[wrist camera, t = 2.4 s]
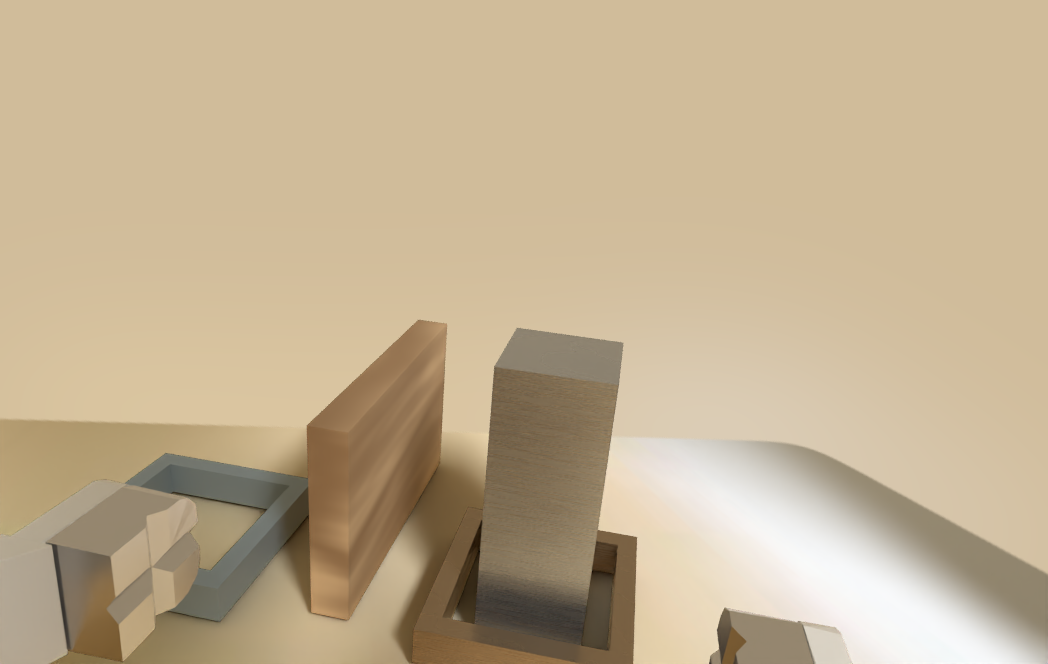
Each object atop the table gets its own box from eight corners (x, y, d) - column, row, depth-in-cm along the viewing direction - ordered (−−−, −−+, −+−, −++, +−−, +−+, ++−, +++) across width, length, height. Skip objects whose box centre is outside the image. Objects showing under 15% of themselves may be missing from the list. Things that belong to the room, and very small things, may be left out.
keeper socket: (314, 506, 32) (314, 479, 32) (220, 621, 25) (217, 588, 25) (168, 480, 33) (166, 453, 33) (38, 582, 26) (32, 550, 26)
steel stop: (588, 585, 29) (623, 342, 25) (578, 657, 25) (618, 385, 21) (495, 567, 29) (517, 327, 26) (473, 635, 26) (494, 366, 22)
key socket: (632, 565, 30) (636, 537, 30) (626, 708, 23) (632, 674, 23) (466, 534, 31) (467, 507, 31) (412, 662, 24) (413, 629, 24)
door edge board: (440, 462, 37) (447, 323, 34) (348, 620, 26) (348, 432, 23) (413, 457, 37) (418, 319, 34) (311, 612, 26) (306, 425, 23)
